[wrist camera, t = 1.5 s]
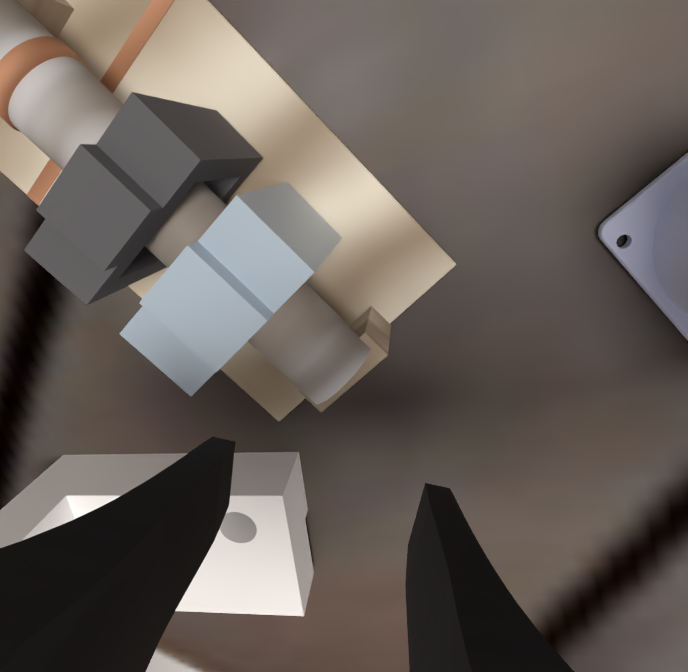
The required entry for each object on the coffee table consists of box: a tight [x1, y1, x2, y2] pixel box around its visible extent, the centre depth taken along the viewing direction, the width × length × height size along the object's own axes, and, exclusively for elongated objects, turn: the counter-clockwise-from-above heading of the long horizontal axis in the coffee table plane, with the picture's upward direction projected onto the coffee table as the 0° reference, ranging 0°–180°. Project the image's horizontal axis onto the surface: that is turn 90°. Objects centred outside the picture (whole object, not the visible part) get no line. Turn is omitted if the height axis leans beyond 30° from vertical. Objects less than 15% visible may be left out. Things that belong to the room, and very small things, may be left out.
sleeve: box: [120, 183, 342, 396], centre depth 17 cm, size 3×6×7 cm, turn 135°
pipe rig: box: [0, 0, 456, 421], centre depth 18 cm, size 18×11×5 cm, turn 45°
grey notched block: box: [24, 92, 263, 305], centre depth 16 cm, size 2×6×7 cm, turn 135°
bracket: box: [0, 452, 314, 616], centre depth 23 cm, size 13×7×8 cm, turn 96°
